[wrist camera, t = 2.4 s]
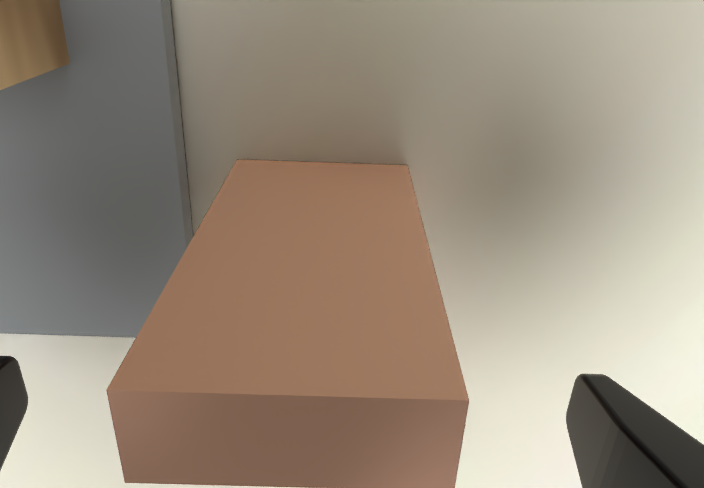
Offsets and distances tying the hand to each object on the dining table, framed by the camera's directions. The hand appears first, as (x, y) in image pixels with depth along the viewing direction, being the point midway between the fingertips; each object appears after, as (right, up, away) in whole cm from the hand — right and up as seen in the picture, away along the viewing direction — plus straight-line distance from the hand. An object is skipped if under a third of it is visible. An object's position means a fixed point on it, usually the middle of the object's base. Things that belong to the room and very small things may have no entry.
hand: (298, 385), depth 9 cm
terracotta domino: (0, +4, +8) cm, 9 cm away
